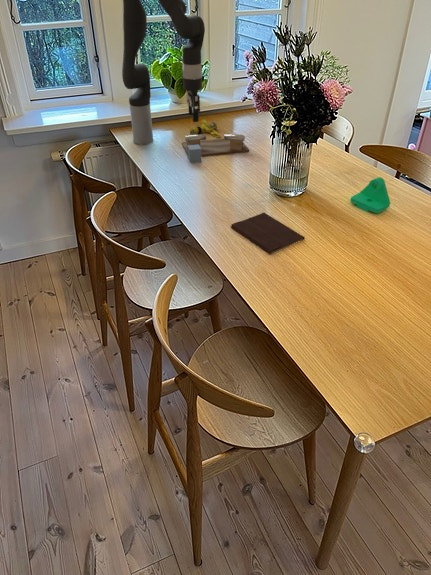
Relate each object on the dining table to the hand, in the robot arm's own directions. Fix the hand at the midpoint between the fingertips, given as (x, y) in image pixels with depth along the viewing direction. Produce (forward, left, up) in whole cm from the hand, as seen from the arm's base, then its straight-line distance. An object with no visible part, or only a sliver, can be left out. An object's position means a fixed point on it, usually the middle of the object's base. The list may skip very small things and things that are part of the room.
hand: (193, 118), depth 183 cm
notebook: (+64, +11, -19) cm, 68 cm away
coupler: (0, 0, -18) cm, 18 cm away
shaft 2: (-8, +20, -14) cm, 26 cm away
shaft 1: (-12, +3, -14) cm, 18 cm away
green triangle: (+55, +53, -18) cm, 79 cm away
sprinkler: (-32, +12, -19) cm, 39 cm away
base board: (-12, +12, -18) cm, 24 cm away
